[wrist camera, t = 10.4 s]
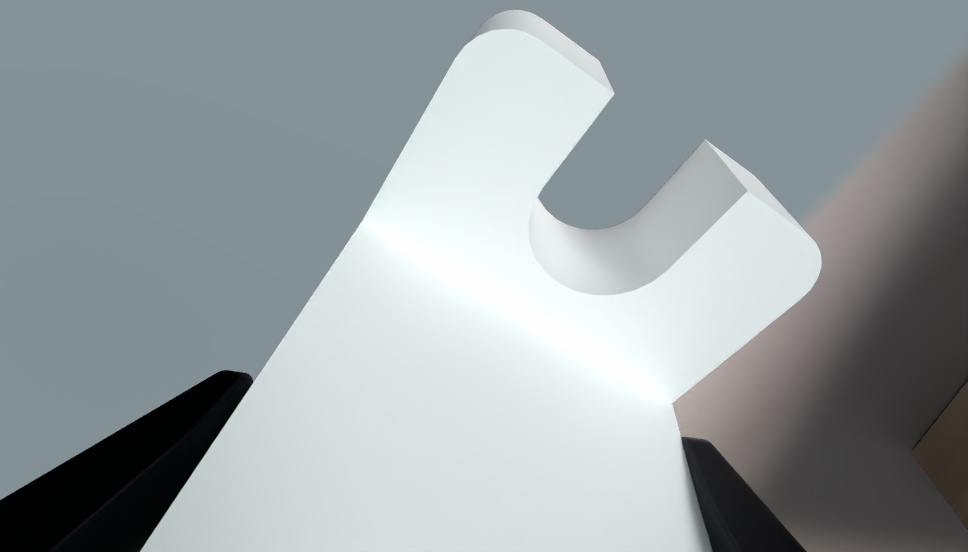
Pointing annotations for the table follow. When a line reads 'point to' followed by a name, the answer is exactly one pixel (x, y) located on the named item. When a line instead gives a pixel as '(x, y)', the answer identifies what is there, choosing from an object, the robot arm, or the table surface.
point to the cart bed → (949, 454)
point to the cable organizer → (499, 341)
